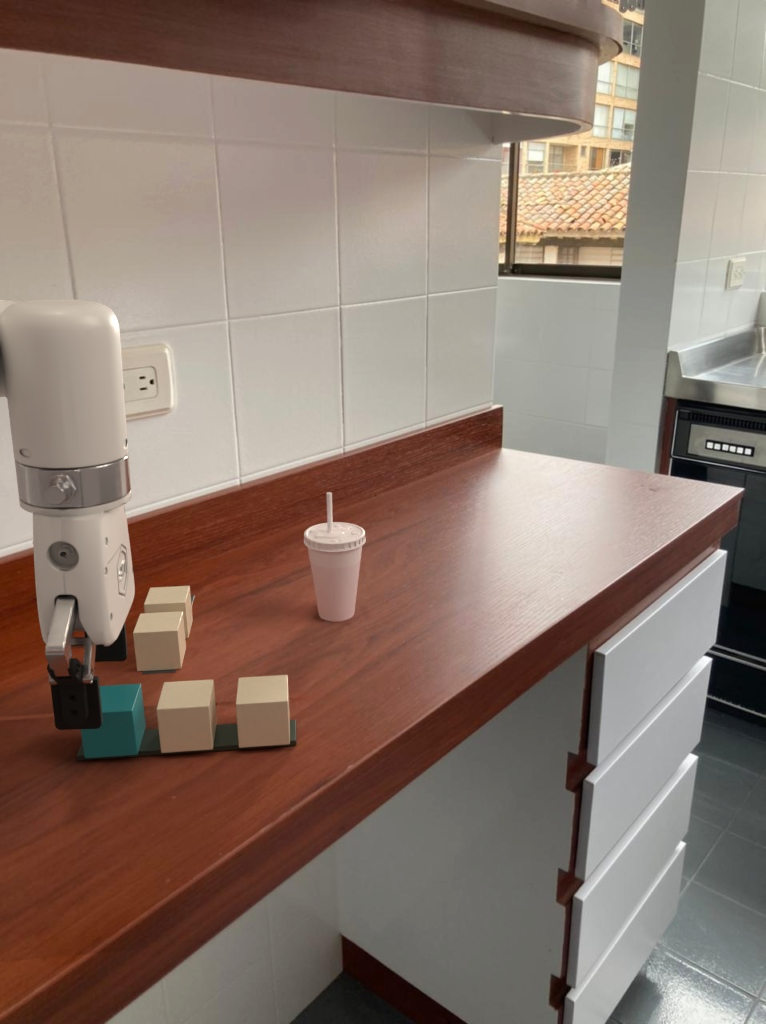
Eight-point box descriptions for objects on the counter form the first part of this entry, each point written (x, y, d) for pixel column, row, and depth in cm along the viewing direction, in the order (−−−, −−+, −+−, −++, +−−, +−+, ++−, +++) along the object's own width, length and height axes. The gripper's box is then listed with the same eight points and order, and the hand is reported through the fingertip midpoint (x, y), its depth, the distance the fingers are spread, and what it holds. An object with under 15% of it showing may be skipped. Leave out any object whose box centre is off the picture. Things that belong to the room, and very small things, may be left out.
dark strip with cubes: (75, 765, 63) (68, 714, 62) (87, 734, 67) (80, 686, 65) (296, 749, 65) (294, 700, 63) (295, 720, 69) (293, 673, 67)
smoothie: (294, 615, 87) (289, 490, 83) (342, 598, 91) (339, 478, 86) (330, 637, 83) (326, 506, 78) (379, 618, 86) (378, 492, 82)
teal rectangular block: (137, 755, 63) (132, 710, 62) (84, 758, 63) (77, 714, 62) (145, 725, 67) (141, 683, 66) (96, 728, 67) (90, 686, 65)
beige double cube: (136, 679, 75) (131, 635, 74) (163, 600, 91) (159, 562, 89) (181, 676, 75) (176, 632, 74) (199, 598, 91) (196, 561, 90)
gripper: (103, 520, 50) (123, 757, 56) (148, 449, 66) (160, 637, 72) (-25, 521, 49) (8, 761, 55) (52, 449, 65) (72, 639, 71)
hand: (94, 691), depth 63 cm, fingers open, 9 cm apart
